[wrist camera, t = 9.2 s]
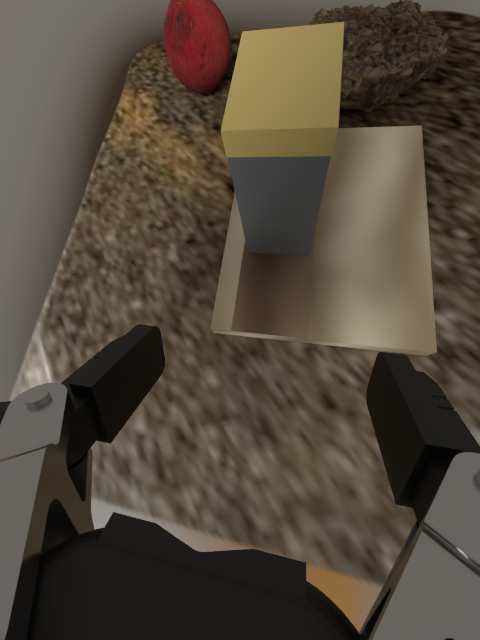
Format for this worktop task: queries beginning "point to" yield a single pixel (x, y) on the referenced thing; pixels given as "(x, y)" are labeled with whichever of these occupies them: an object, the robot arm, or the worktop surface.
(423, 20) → the concrete sample
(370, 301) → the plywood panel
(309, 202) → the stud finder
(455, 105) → the worktop surface
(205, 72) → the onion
